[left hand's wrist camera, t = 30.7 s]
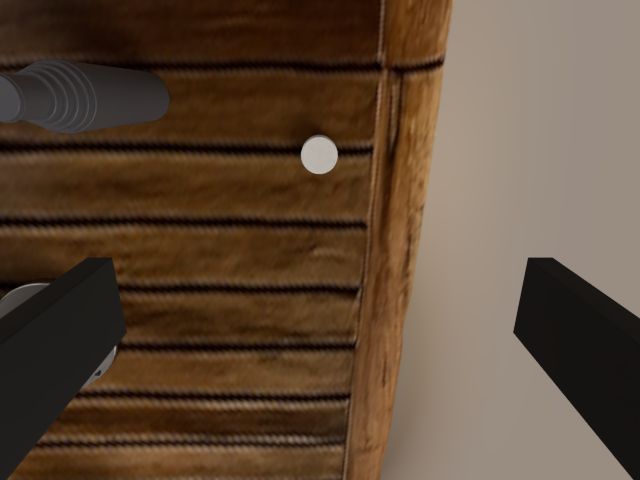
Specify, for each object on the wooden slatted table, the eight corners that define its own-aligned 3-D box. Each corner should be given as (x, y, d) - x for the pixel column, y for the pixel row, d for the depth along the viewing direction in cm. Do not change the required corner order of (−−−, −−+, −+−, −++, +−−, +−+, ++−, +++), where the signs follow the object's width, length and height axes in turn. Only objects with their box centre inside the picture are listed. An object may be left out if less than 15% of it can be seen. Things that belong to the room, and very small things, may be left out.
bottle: (160, 66, 41) (16, 40, 21) (176, 116, 42) (55, 133, 23) (115, 76, 41) (-67, 60, 22) (132, 125, 43) (-23, 150, 23)
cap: (312, 128, 43) (311, 129, 40) (343, 145, 43) (344, 148, 41) (295, 159, 44) (294, 162, 42) (325, 176, 45) (326, 180, 42)
